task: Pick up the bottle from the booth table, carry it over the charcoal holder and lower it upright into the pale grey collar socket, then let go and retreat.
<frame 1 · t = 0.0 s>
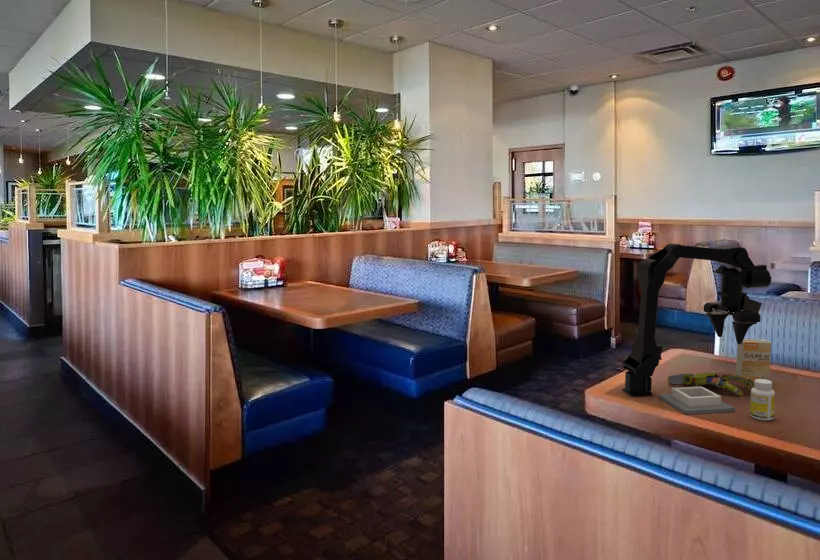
hand: (729, 340, 178), 15 cm above the table, fingers open, 9 cm apart
socket holder: (695, 404, 166), on the table
supplement box: (752, 381, 186), on the table
supplement bottle: (761, 418, 156), on the table
robotic hand: (713, 390, 180), on the table
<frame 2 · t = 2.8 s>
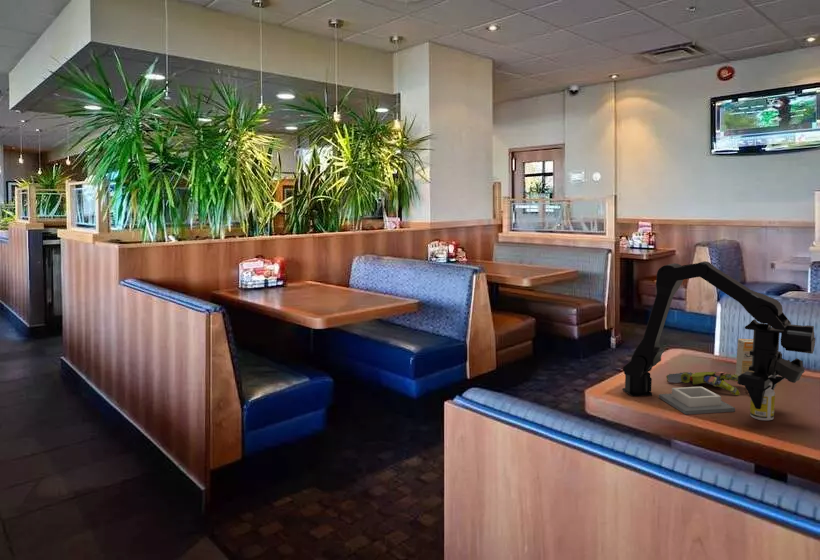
hand: (762, 406, 155), 3 cm above the table, fingers closed on supplement bottle, 5 cm apart
supplement bottle: (761, 418, 156), on the table, touching gripper
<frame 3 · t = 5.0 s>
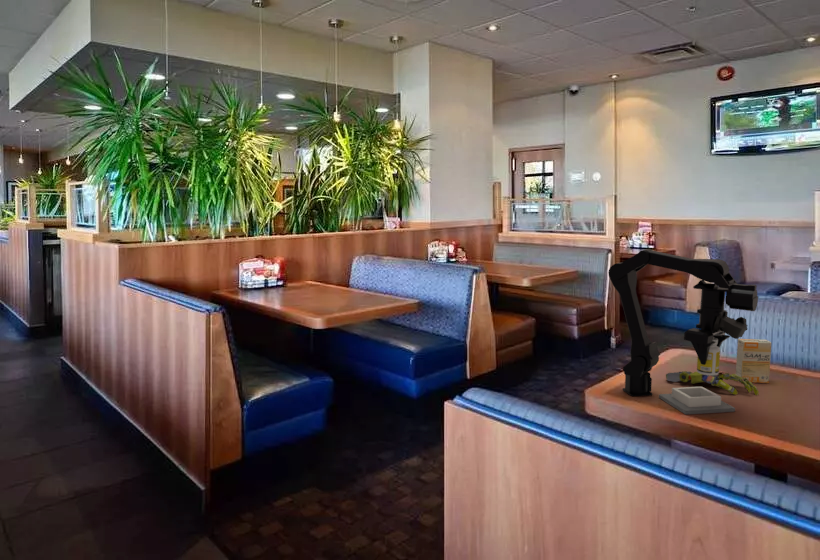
hand: (707, 362, 163), 13 cm above the table, fingers closed on supplement bottle, 5 cm apart
supplement bottle: (707, 373, 163), point 9 cm above the table, touching gripper
when the fingers open (5 cm above the table, at t = 7.2 s): supplement bottle stays where it is, resting on socket holder.
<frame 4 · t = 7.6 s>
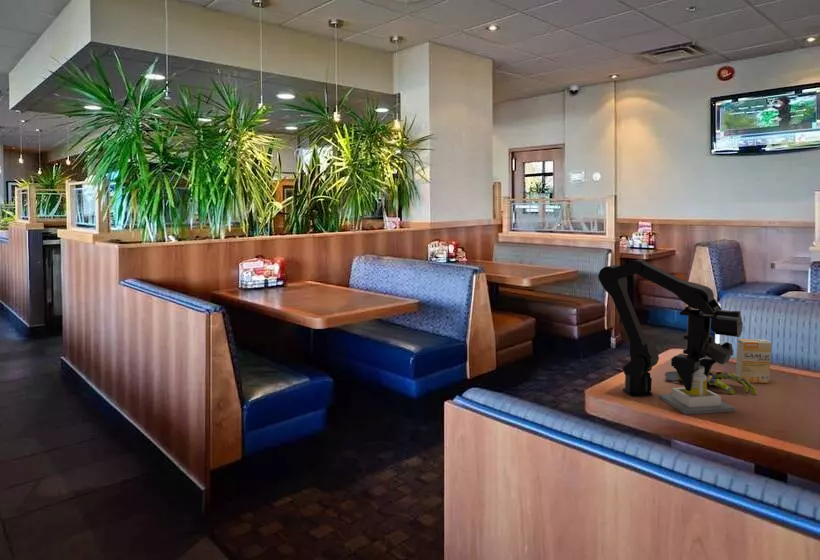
hand: (696, 387, 166), 5 cm above the table, fingers open, 9 cm apart
supplement bottle: (695, 401, 166), point 1 cm above the table, touching socket holder
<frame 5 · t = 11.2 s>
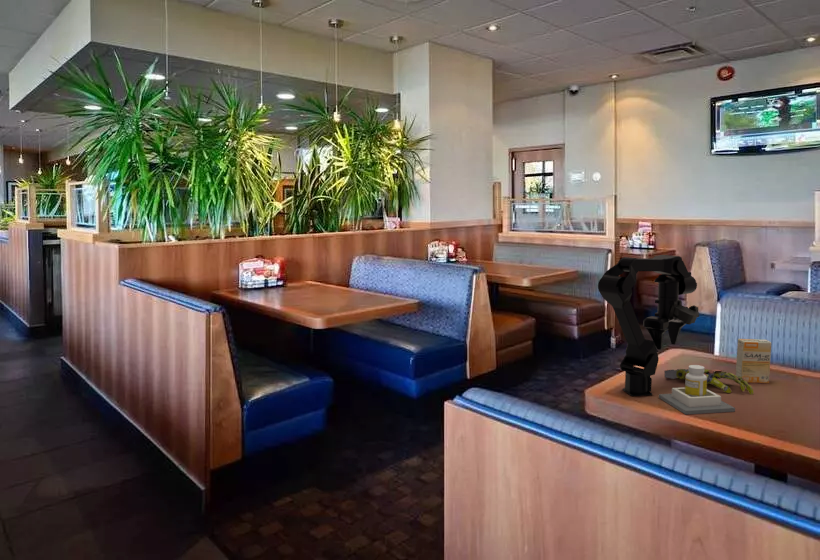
hand: (666, 346, 183), 12 cm above the table, fingers open, 9 cm apart
robotic hand: (707, 386, 183), on the table
everything else where it was.
at the end: supplement bottle 0.1 cm off-centre on the socket holder, point 0.8 cm above the socket holder's base; supplement bottle tilted 0°; the gripper is holding nothing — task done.
